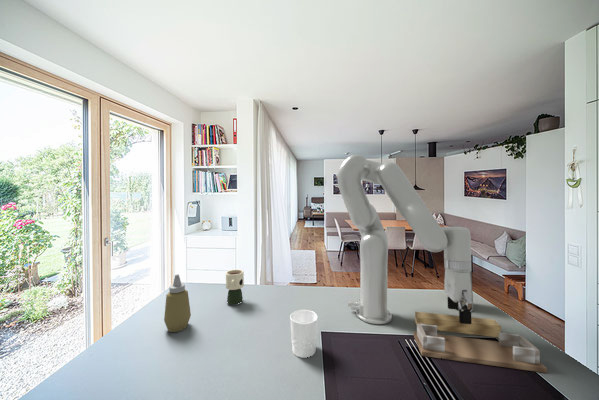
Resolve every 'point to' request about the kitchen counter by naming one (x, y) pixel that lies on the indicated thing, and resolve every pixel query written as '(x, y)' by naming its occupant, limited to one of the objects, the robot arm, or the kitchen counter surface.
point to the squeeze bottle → (177, 307)
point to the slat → (459, 324)
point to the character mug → (234, 285)
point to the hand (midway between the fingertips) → (458, 315)
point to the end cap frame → (480, 349)
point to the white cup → (303, 332)
